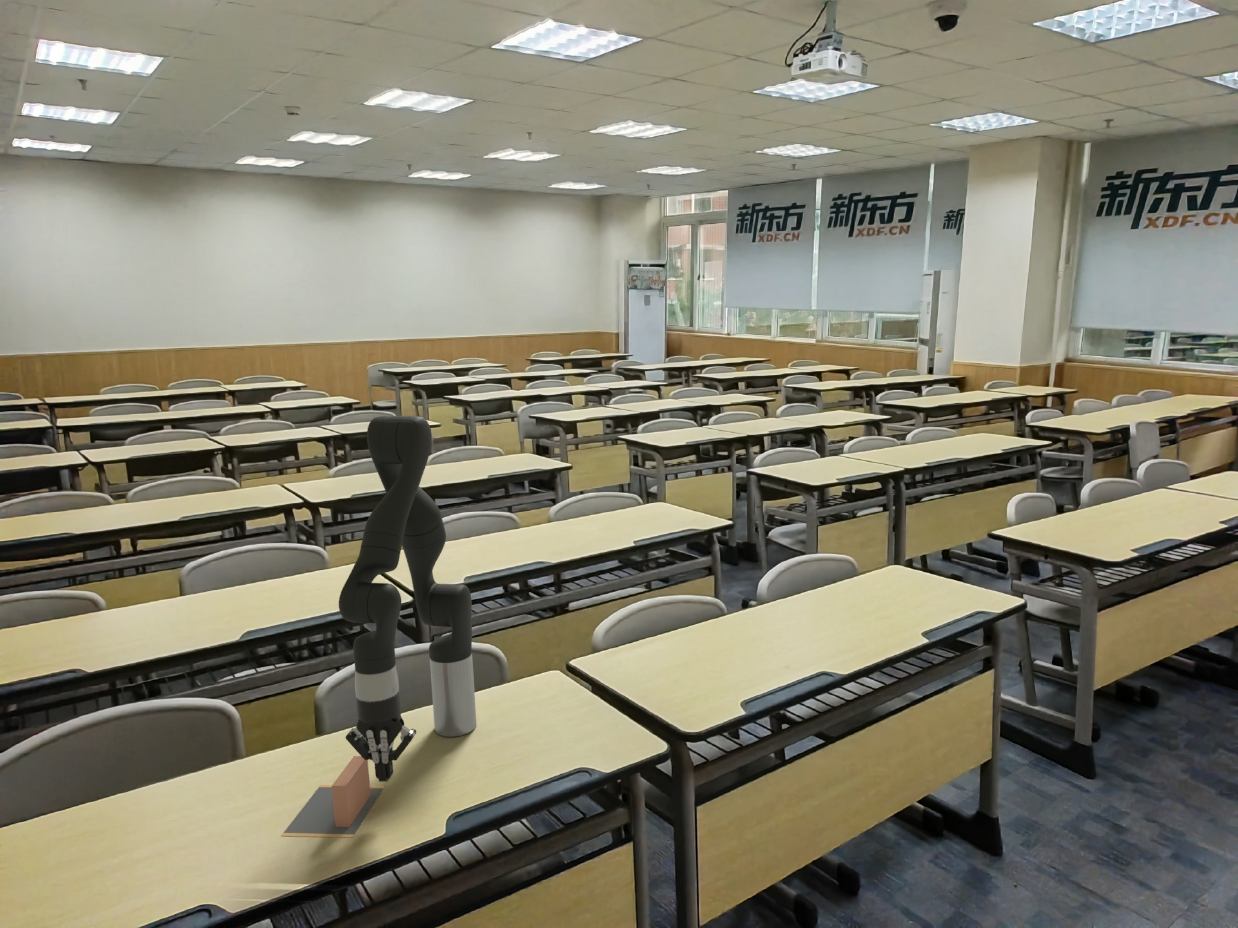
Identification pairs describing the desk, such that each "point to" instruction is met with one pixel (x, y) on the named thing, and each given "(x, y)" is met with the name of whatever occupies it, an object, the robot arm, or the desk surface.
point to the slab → (351, 791)
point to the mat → (327, 816)
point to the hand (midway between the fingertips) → (384, 779)
